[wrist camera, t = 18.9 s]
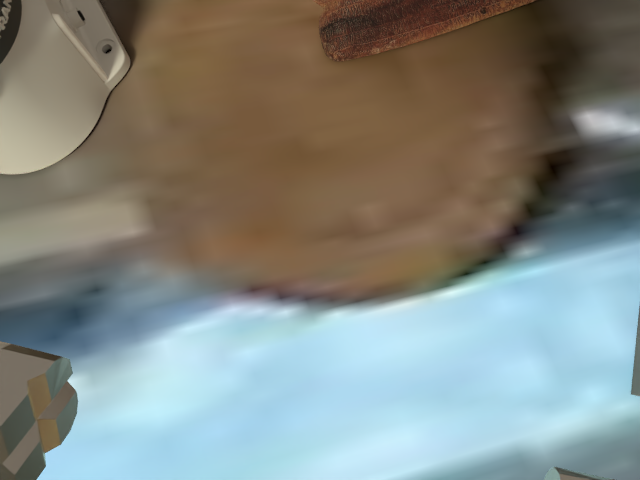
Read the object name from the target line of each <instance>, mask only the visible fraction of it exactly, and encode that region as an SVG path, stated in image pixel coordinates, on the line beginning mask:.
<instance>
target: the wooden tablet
mask: <svg viewBox="0 0 640 480" xmlns="http://www.w3.org/2000/svg"><path fill="white" fill-rule="evenodd" d="M313 1H314V2H316V3H317V4H319V5H320V6H322V7H323V12H322V14H321V16H320V20H319V30H320V37H321V41H322V45H323V48H324V50H325V53H326V55H327V56H328V57H329V58H330V59H332V60H334V61H345V60H350V59H356V58H360V57H364V56H369V55H373V54H378V53H381V52H384V51H388V50H391V49H395V48H399V47H403V46H407V45H409V44H413V43H416V42H420V41H423V40H426V39H429V38H431V37H434V36H438V35H440V34H444V33H447V32H450V31H453V30H455V29H459V28H462V27H465V26H467V25H470V24H472V23H475V22H477V21H480V20H483V19H486V18H489V17H492V16H494V15H498V14H500V13H503V12H506V11H509V10H511V9H514V8H517V7H520V6H522V5H525V4H528V3H531V2H533V1H536V0H313Z"/></svg>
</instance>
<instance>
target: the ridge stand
mask: <svg viewBox="0 0 640 480" xmlns="http://www.w3.org/2000/svg"><path fill="white" fill-rule="evenodd" d="M631 394H632V395H637V396H640V308H639V318H638V328H637V338H636V349H635V359H634V369H633V379H632V390H631Z"/></svg>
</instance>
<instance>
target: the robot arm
mask: <svg viewBox="0 0 640 480" xmlns="http://www.w3.org/2000/svg"><path fill="white" fill-rule="evenodd" d="M109 49H112V50H111V52H110V53H107V54H106V51H107V50H109ZM129 67H130V58H129V56H128V54H127V52H126V50H125V48H124V46H123V44H122V43H121V41H120V39H119V37H118V35H117V33H116V31H115V30H114V28H113V26H112V24H111V22H110V20H109V18H108V17H107V15H106V13H105V11H104V9H103V7H102V5H101V3H100V2H99V0H0V173H1V174H23V173H29V172H33V171H37V170H40V169H43V168H45V167H48V166H50V165H52V164H54V163H56V162H58V161H60V160H61V159H63V158H64V157H66V156H67V155H69V154H70V153H71V152H72V151H74V150H75V149H76V148H77V147H78V146H79V145H80V144H81V143H82V142H83V141H84V140H85V139H86V137H87V136H88V135H89V134H90V132H91V131H92V129H93V128H94V126H95V124H96V123H97V121H98V119H99V117H100V114H101V112H102V109H103V107H104V104H105V101H106V99H107V97H108V95H109V93H110V91H111V90H112V89H113V88H114V87H115V86H116V85H117V84H118V82H119V81H120V80H121V79H122V78H123V77H124V75H125V74H126V73H127V71H128V69H129ZM72 374H73V372H72V367H71V363H70V359H67V358H64V357H61V356H57V355H53V354H49V353H45V352H41V351H37V350H33V349H29V348H25V347H21V346H17V345H13V344H9V343H5V342H0V480H36V479H37V478H38V477H39V475H40V474H41V472H42V471H43V469H44V468H45V467H46V462H45V453H46V452H48V451H50V450H52V449H53V448H55V447H57V446H59V445H61V444H62V442H63V441H64V439H65V438H66V436H67V435H68V433H69V432H70V430H71V427H72V425H73V422H74V419H75V417H76V414H77V405H78V399H77V393H76V391H75V389H74V388H73V387H72V386H71V385H70V384H69V383H68V381H67V380H68V379H69V378H70V376H71V375H72ZM544 480H615V479H610V478H605V477H600V476H596V475H591V474H586V473H582V472H577V471H572V470H567V469H563V468H558V467H552V468H551V469H550V470H548V472H547V474H546V476H545V478H544Z"/></svg>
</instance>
